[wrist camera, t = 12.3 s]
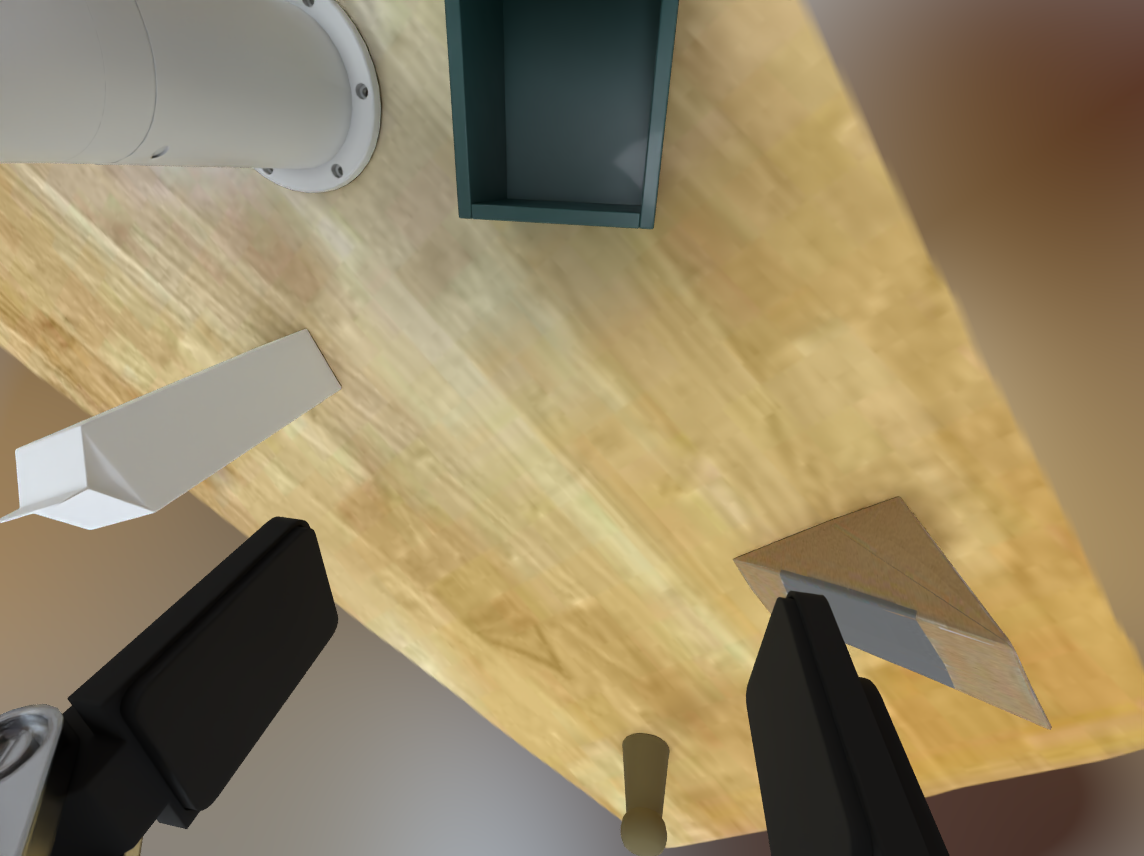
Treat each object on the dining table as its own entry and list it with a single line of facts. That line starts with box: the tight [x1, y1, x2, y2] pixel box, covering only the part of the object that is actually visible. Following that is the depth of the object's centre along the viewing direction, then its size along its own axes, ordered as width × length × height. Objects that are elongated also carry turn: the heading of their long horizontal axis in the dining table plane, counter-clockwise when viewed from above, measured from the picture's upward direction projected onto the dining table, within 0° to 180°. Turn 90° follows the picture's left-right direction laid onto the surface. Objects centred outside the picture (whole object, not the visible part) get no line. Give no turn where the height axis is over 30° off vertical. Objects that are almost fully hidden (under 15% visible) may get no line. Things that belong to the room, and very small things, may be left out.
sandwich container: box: [733, 497, 1052, 730], centre depth 38 cm, size 9×15×15 cm, turn 126°
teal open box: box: [445, 0, 679, 229], centre depth 27 cm, size 14×11×8 cm
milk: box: [0, 329, 341, 530], centre depth 34 cm, size 6×6×22 cm
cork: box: [621, 734, 669, 856], centre depth 58 cm, size 6×6×11 cm
